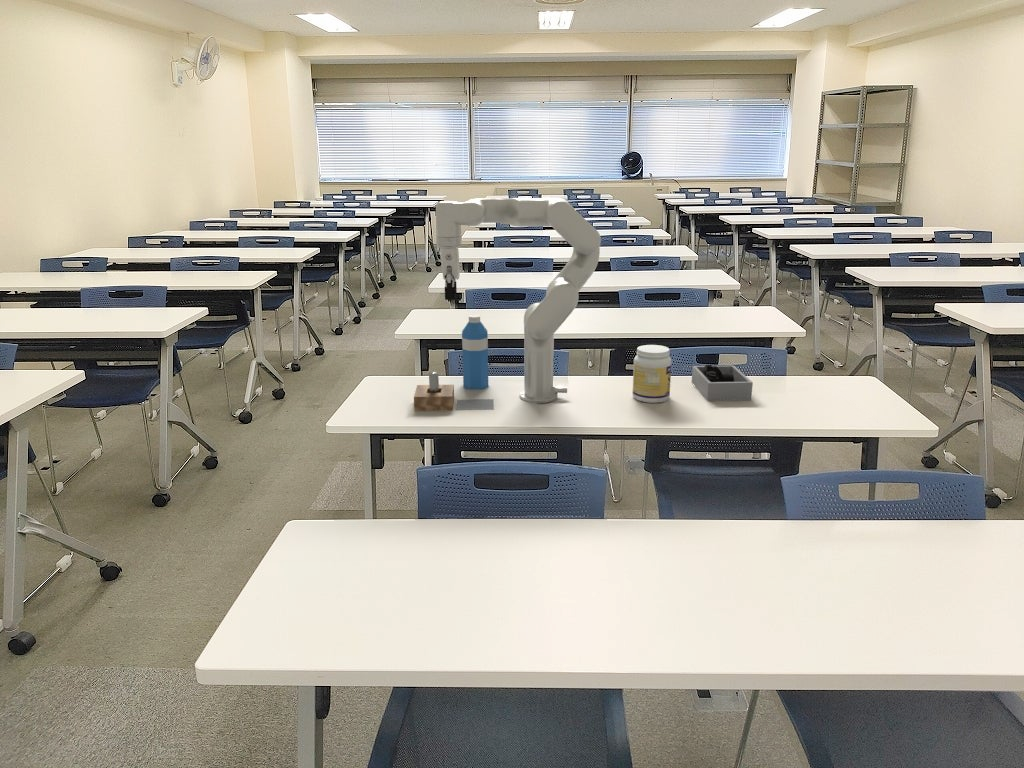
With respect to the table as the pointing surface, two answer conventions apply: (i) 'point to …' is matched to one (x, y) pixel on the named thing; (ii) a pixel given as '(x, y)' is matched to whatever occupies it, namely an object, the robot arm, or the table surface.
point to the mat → (475, 404)
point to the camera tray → (723, 385)
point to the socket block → (433, 398)
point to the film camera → (716, 374)
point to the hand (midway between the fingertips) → (450, 296)
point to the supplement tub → (652, 374)
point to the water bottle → (475, 354)
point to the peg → (433, 382)
